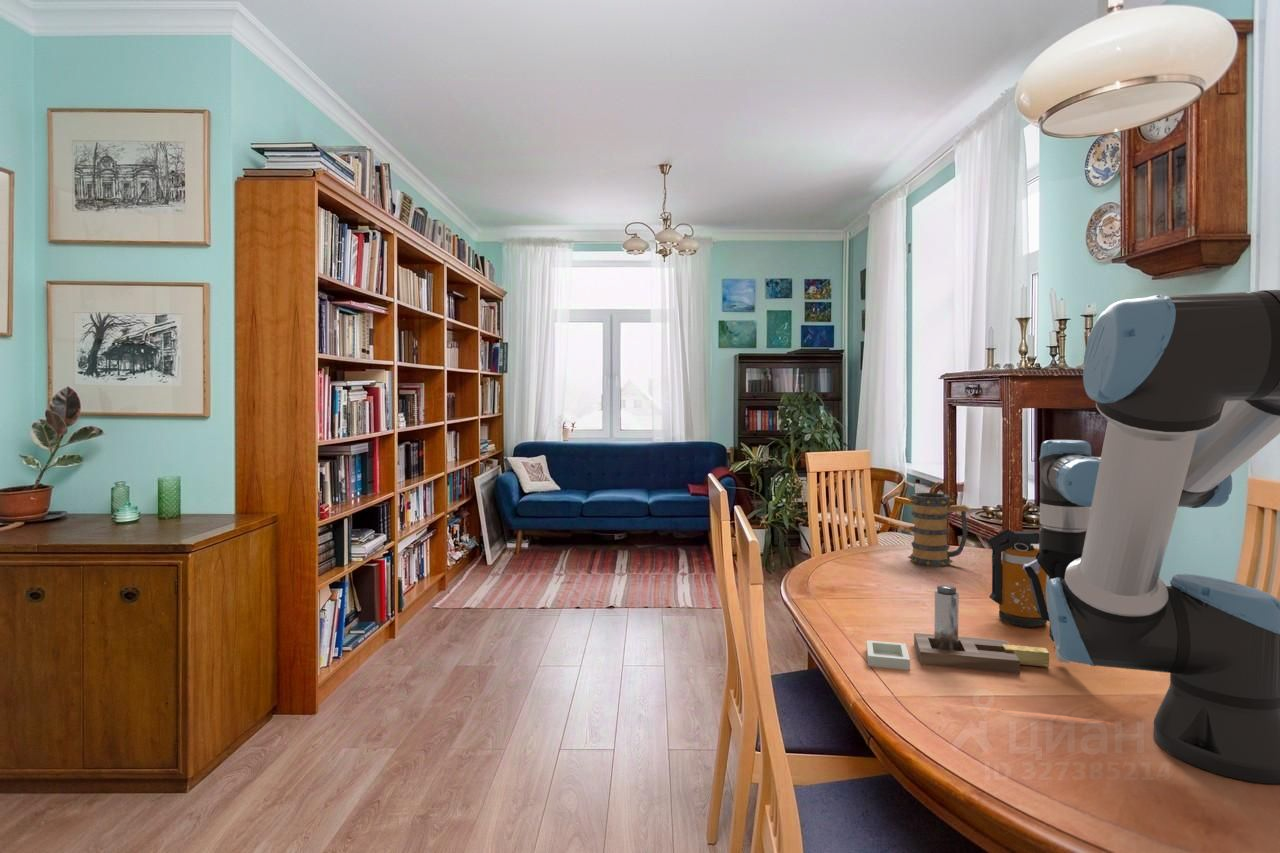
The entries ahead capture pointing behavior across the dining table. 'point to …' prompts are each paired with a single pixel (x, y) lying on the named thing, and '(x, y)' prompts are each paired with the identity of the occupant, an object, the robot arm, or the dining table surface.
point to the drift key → (1029, 654)
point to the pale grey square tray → (887, 655)
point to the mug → (934, 529)
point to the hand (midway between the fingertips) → (1062, 659)
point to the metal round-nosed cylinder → (946, 618)
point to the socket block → (967, 654)
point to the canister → (1015, 577)
